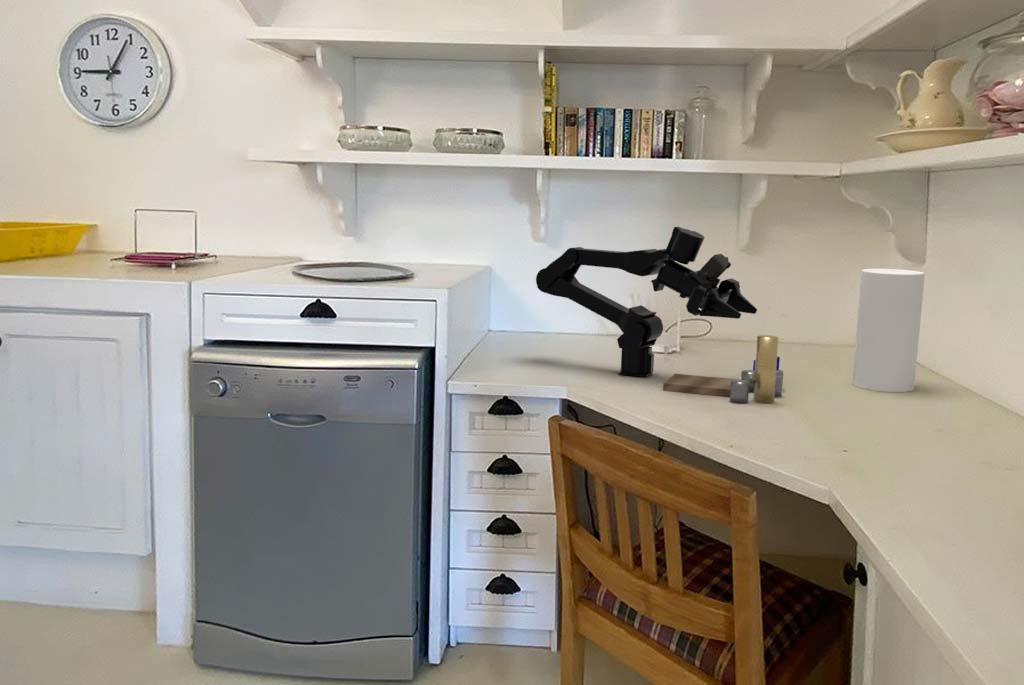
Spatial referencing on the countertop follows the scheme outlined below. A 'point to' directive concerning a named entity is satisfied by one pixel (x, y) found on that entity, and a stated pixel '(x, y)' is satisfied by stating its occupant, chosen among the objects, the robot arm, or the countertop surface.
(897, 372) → the cylinder
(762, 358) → the cylinder
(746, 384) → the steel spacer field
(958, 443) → the countertop surface
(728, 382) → the brown wooden board
